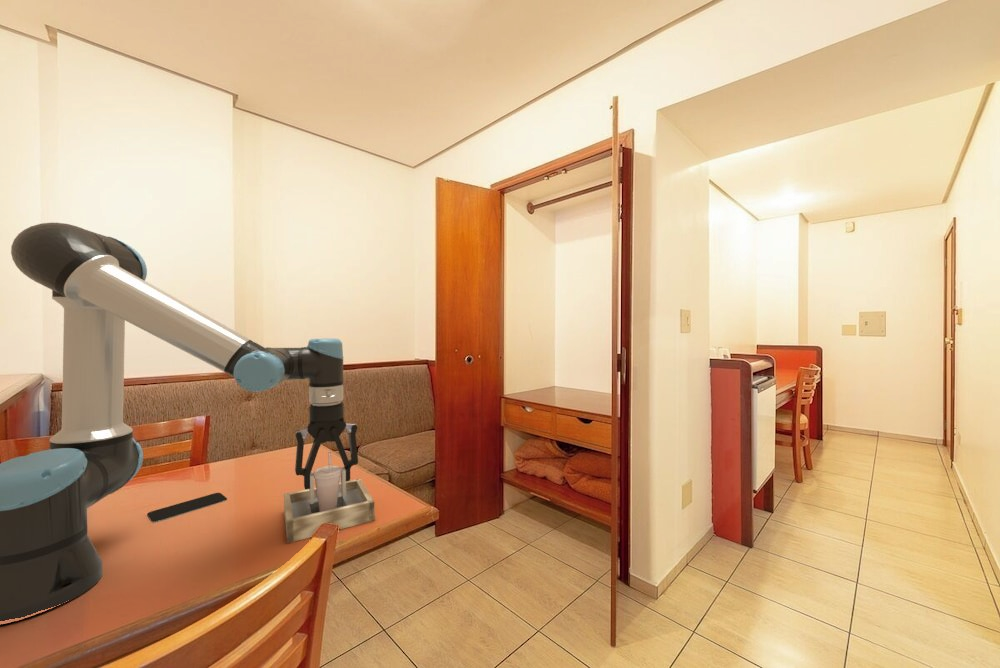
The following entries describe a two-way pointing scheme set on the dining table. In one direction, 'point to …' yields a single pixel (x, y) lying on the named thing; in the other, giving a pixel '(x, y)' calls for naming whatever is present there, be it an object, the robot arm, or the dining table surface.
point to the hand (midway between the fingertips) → (327, 497)
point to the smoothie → (327, 485)
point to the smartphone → (185, 507)
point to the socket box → (305, 523)
